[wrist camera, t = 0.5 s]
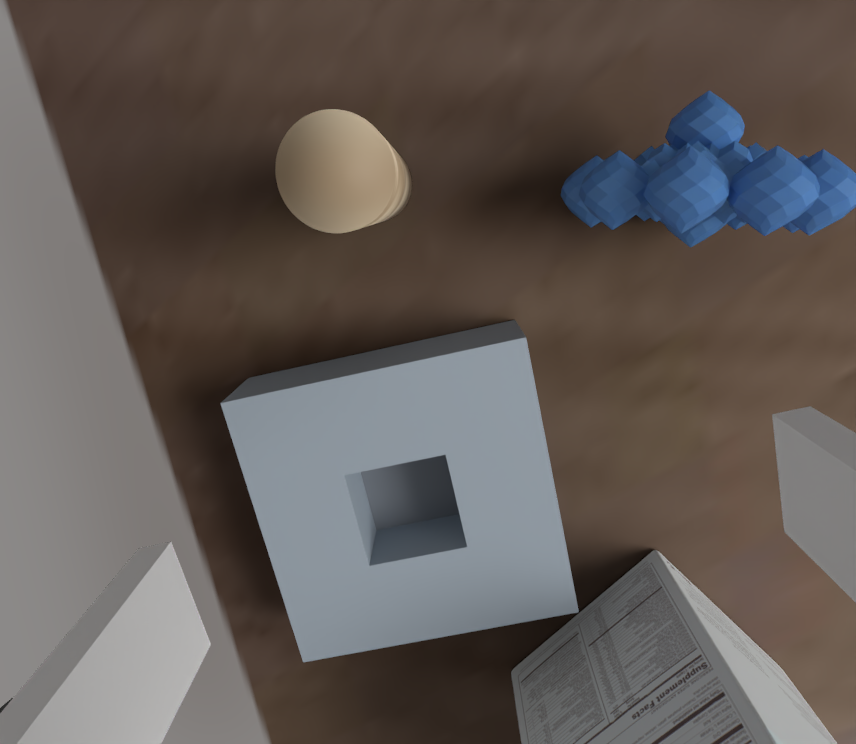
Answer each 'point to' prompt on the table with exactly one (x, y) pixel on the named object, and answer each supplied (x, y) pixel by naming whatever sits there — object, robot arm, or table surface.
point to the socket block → (405, 492)
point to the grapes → (712, 181)
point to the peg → (340, 173)
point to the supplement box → (657, 674)
